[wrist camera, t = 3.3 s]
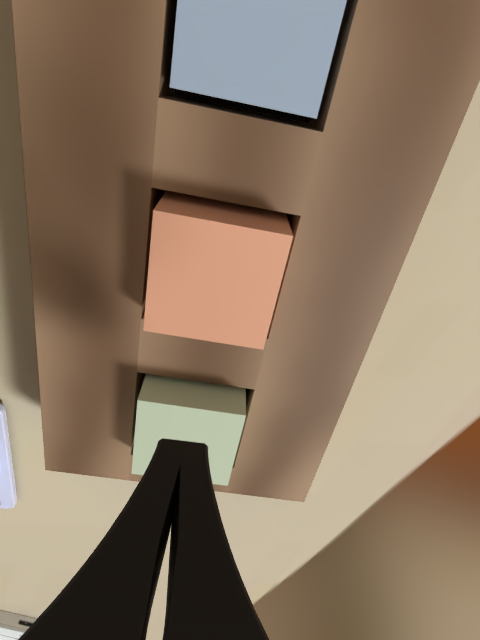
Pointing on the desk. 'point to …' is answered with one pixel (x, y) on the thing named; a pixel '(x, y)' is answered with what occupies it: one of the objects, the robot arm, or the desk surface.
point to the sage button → (189, 420)
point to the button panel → (230, 186)
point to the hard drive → (13, 625)
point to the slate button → (257, 51)
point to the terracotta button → (214, 269)
